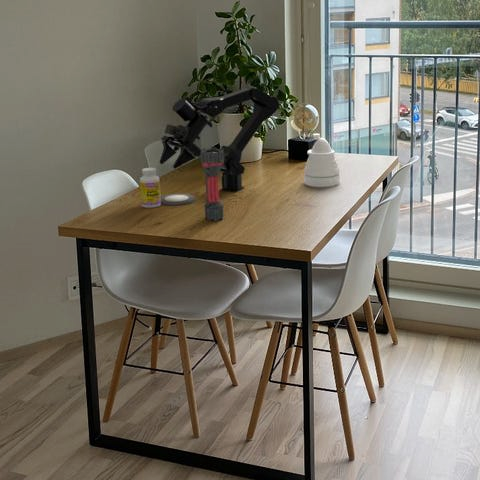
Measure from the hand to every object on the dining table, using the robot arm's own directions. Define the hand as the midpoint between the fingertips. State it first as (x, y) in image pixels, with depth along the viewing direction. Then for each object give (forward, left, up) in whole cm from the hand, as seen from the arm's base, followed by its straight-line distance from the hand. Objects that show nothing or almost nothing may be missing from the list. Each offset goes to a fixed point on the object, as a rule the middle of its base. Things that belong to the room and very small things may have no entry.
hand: (167, 165), depth 303 cm
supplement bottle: (+3, +6, -13) cm, 15 cm away
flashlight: (-26, +12, -13) cm, 31 cm away
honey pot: (-38, -45, -13) cm, 60 cm away
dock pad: (-1, -3, -13) cm, 13 cm away
